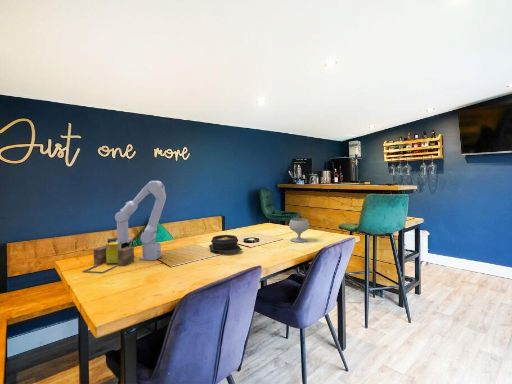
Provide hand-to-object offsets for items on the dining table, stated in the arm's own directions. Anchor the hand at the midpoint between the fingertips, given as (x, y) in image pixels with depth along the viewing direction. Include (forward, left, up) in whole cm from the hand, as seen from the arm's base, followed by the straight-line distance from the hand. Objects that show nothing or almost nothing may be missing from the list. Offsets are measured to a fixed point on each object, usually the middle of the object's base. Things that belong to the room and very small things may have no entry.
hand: (123, 256), depth 160 cm
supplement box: (0, +8, -1) cm, 8 cm away
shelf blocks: (0, +8, -1) cm, 8 cm away
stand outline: (0, +18, -1) cm, 18 cm away
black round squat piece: (-52, -25, -1) cm, 58 cm away
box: (+7, -3, -1) cm, 8 cm away
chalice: (-97, -58, -1) cm, 113 cm away
